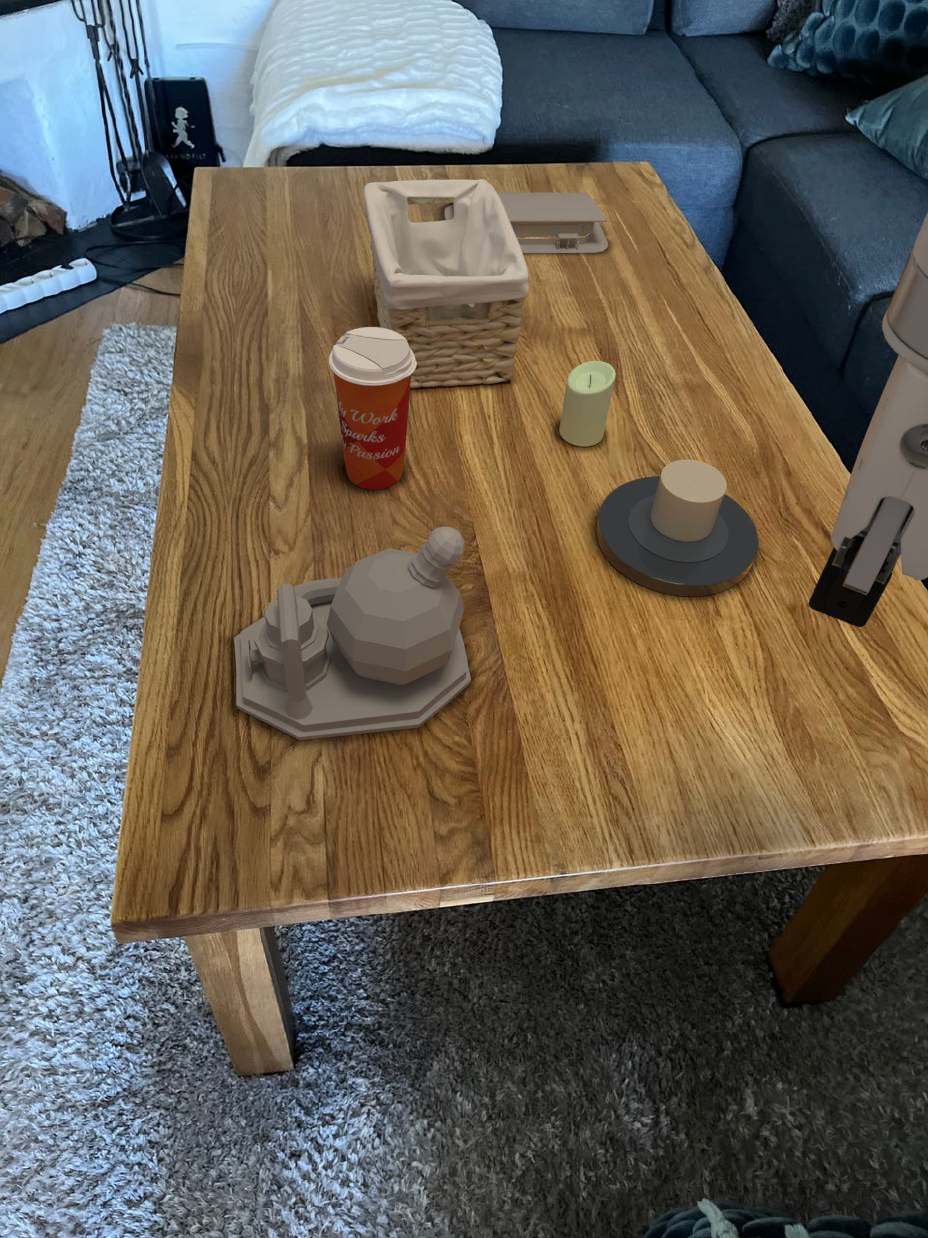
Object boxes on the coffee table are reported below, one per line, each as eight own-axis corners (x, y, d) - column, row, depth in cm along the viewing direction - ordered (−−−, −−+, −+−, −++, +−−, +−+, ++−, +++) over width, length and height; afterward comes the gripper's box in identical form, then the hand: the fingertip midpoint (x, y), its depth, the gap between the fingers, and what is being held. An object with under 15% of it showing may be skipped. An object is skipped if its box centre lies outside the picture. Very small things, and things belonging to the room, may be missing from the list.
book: (612, 252, 134) (617, 225, 131) (453, 253, 131) (454, 226, 128) (590, 203, 144) (594, 177, 141) (442, 203, 141) (443, 177, 138)
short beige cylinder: (721, 512, 95) (735, 472, 91) (702, 550, 91) (716, 510, 88) (662, 491, 97) (673, 451, 93) (641, 527, 93) (651, 487, 89)
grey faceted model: (449, 587, 89) (457, 459, 77) (481, 719, 79) (496, 595, 67) (233, 609, 85) (208, 478, 74) (238, 749, 75) (210, 623, 64)
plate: (771, 519, 98) (776, 507, 96) (728, 619, 88) (733, 607, 87) (628, 469, 102) (630, 456, 100) (571, 559, 92) (574, 546, 91)
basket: (521, 391, 110) (535, 273, 99) (384, 399, 108) (383, 279, 97) (484, 286, 126) (492, 175, 115) (363, 291, 123) (360, 178, 112)
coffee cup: (321, 483, 97) (312, 358, 86) (357, 439, 103) (352, 315, 91) (395, 506, 96) (394, 381, 84) (427, 460, 101) (431, 336, 90)
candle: (572, 451, 103) (584, 388, 97) (551, 425, 106) (560, 362, 100) (611, 441, 105) (624, 378, 99) (588, 416, 108) (600, 353, 102)
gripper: (1063, 434, 33) (874, 731, 47) (1098, 264, 42) (931, 554, 56) (854, 370, 36) (732, 670, 49) (929, 221, 45) (808, 510, 58)
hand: (838, 608), depth 53 cm, fingers closed
